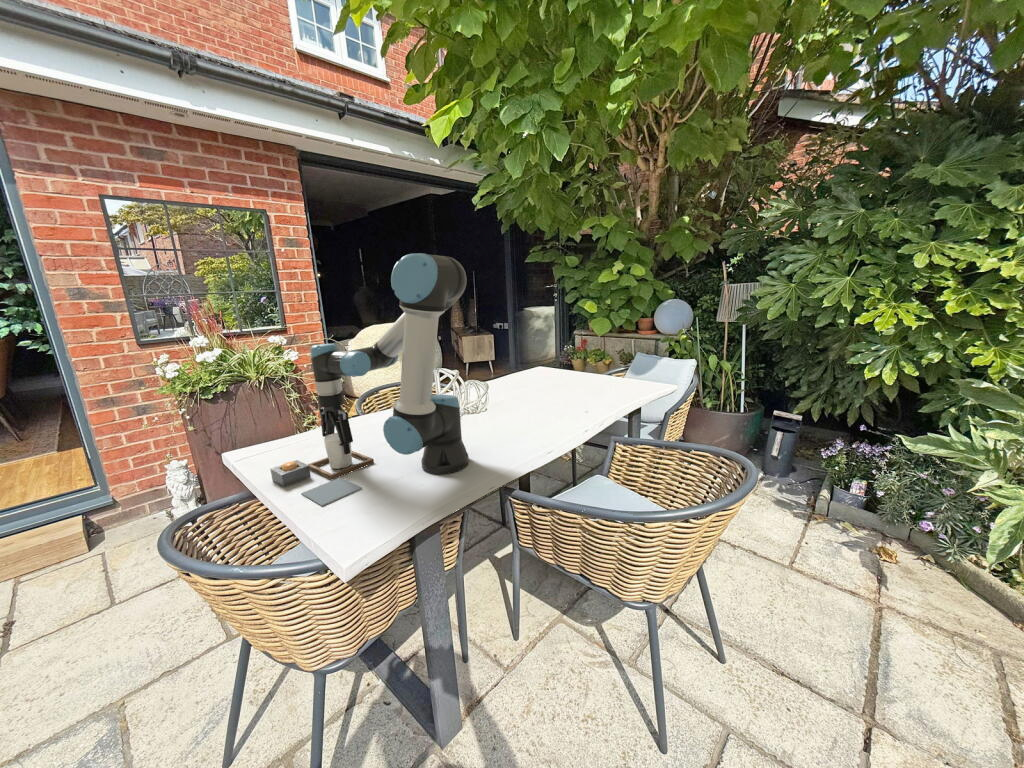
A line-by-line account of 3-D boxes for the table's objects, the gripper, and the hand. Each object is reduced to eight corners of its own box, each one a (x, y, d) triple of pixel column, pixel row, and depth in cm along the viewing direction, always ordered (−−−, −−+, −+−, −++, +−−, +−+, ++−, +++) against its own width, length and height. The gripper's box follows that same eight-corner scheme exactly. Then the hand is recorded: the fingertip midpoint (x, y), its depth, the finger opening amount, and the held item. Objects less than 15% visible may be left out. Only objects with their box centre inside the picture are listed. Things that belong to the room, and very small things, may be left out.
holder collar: (373, 463, 133) (373, 458, 132) (330, 480, 121) (330, 475, 121) (349, 453, 142) (349, 449, 141) (307, 468, 130) (306, 464, 130)
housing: (310, 477, 124) (308, 465, 123) (283, 487, 118) (281, 475, 117) (299, 471, 129) (297, 459, 128) (272, 480, 123) (270, 468, 122)
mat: (362, 488, 115) (362, 487, 115) (322, 506, 106) (321, 505, 106) (341, 478, 122) (340, 477, 122) (301, 494, 113) (301, 493, 113)
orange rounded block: (300, 475, 123) (298, 463, 122) (287, 480, 120) (285, 468, 119) (294, 472, 126) (292, 460, 125) (281, 477, 123) (279, 464, 122)
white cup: (338, 471, 126) (333, 441, 124) (323, 467, 130) (318, 438, 128) (359, 462, 132) (354, 433, 130) (344, 458, 137) (340, 430, 134)
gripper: (358, 393, 123) (368, 462, 127) (325, 387, 135) (335, 450, 140) (335, 399, 117) (346, 471, 122) (303, 392, 129) (314, 457, 134)
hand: (340, 459), depth 131 cm, fingers closed on white cup, 7 cm apart
